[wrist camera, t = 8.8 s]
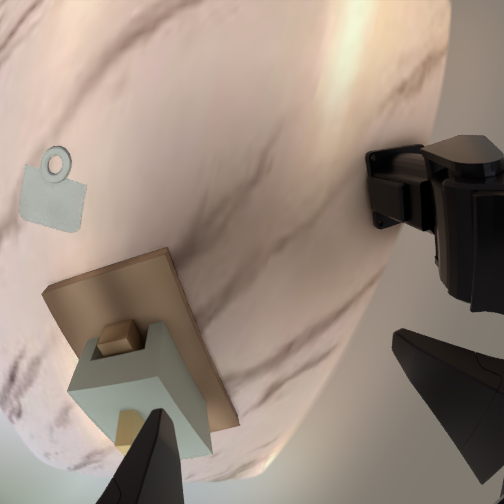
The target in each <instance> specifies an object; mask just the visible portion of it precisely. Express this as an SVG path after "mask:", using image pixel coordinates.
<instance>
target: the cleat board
mask: <svg viewBox="0 0 504 504" xmlns="http://www.w3.org/2000/svg"><path fill="white" fill-rule="evenodd" d="M42 296H43V298H44V300H45V302H46V304H47V306H48V308H49V310H50V312H51V314H52V315H53V317H54V319H55V321H56V323H57V324H58V326H59V328H60V329H61V331H62V333H63V335H64V336H65V338H66V340H67V341H68V343H69V344H70V346H71V348H72V349H73V351H74V352H75V354H76V355H77V357H78V358H79V359H80V357H81V354H82V352H83V349H84V347H85V345H86V342H87V340H89V339H93V338H98V337H99V341H98V343H97V346H98V348H99V350H100V351H101V353H102V354H103V356H104V358H107V357H112V356H117V355H121V354H126V353H130V352H134V351H139V350H143V349H145V344H146V339H147V333H148V328H149V324H153V323H157V322H161V321H164V323H165V325H166V327H167V329H168V331H169V333H170V335H171V337H172V339H173V341H174V344H175V346H176V348H177V350H178V352H179V353H180V355H181V357H182V359H183V361H184V363H185V365H186V367H187V369H188V371H189V373H190V375H191V376H192V378H193V380H194V382H195V384H196V385H197V387H198V389H199V391H200V393H201V394H202V396H203V398H204V400H205V401H206V405H207V413H208V422H209V429H210V432H215V431H220V430H224V429H228V428H232V427H236V426H240V424H239V419H238V415H237V413H236V411H235V409H234V407H233V405H232V403H231V401H230V399H229V397H228V395H227V393H226V391H225V388H224V386H223V384H222V382H221V380H220V378H219V375H218V373H217V371H216V369H215V367H214V364H213V362H212V360H211V358H210V355H209V353H208V351H207V349H206V346H205V344H204V342H203V339H202V337H201V335H200V332H199V330H198V327H197V325H196V322H195V320H194V318H193V315H192V313H191V310H190V308H189V305H188V303H187V300H186V297H185V295H184V292H183V290H182V287H181V284H180V282H179V279H178V276H177V274H176V271H175V268H174V265H173V263H172V260H171V257H170V254H169V251H168V249H167V248H163V249H160V250H157V251H154V252H150V253H147V254H144V255H141V256H138V257H134V258H131V259H128V260H125V261H122V262H119V263H116V264H112V265H109V266H106V267H103V268H100V269H97V270H94V271H91V272H88V273H85V274H82V275H79V276H76V277H73V278H70V279H67V280H64V281H61V282H58V283H55V284H52V285H49V286H48V287H47V288H46V289H45V291H44V292H43V293H42Z"/></svg>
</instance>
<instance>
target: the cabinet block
mask: <svg viewBox="0 0 504 504" xmlns="http://www.w3.org/2000/svg"><path fill="white" fill-rule="evenodd" d="M98 341H99V337H98V338H93V339H89V340H87V342H86V345H85V347H84V349H83V352H82V354H81V357H80V359H79V361H78V364H77V366H76V369H75V371H74V374H73V377H72V379H71V382H70V384H69V387H68V390H67V392H68V393H69V395H70V396H71V397H72V398H73V400H74V401H75V402H76V403H77V404H78V406H79V407H80V408H81V409H82V410H83V411H84V412H85V414H86V415H87V416H88V417H89V418H90V419H91V420H92V421H93V422H94V423H95V424H96V426H97V427H98V428H99V429H100V430H101V431H102V432H103V433H104V434H105V435H106V436H107V437H108V438H109V439H110V440H111V441H112V442H113V443H114V444H115V447H116V448H117V449H118V450H119V451H120V452H121V453H122V454H123V455H124V456H125V455H126V453H127V452H128V450H129V448H130V447H131V445H132V443H133V441H134V440H135V438H136V436H137V435H138V433H139V431H140V429H141V428H142V426H143V424H144V423H145V421H146V419H147V418H148V416H149V414H150V412H151V411H152V410H153V409H157V408H163V409H164V410H165V411H166V412H167V414H168V415H169V416H170V418H171V419H172V421H173V423H174V428H175V434H176V439H177V445H178V450H179V455H180V460H182V459H189V458H195V457H201V456H206V455H212V454H213V452H212V444H211V437H210V429H209V422H208V413H207V405H206V401H205V400H204V398H203V396H202V394H201V393H200V391H199V389H198V387H197V385H196V384H195V382H194V380H193V378H192V376H191V375H190V373H189V371H188V369H187V367H186V365H185V363H184V361H183V359H182V357H181V355H180V353H179V352H178V350H177V348H176V346H175V344H174V341H173V339H172V337H171V335H170V333H169V331H168V329H167V327H166V325H165V323H164V321H161V322H157V323H153V324H149V328H148V333H147V339H146V344H145V349H143V350H139V351H134V352H130V353H126V354H121V355H117V356H112V357H107V358H104V356H103V354H102V353H101V351H100V350H99V348H98V346H97V343H98Z"/></svg>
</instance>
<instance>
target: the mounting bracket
mask: <svg viewBox="0 0 504 504" xmlns="http://www.w3.org/2000/svg"><path fill="white" fill-rule="evenodd" d="M54 155H58V156H60V157H61V159H62V162H63V166H62V169H61V171H60V172H59V173H57V174H53V173H51V172H50V170H49V168H48V163H49V160H50V158H51V157H52V156H54ZM71 163H72V160H71V157H70V153H69V152H68V151H67V150H66V148H64V147H62V146H53V147H51V148H50V149H48V150H47V151H46V153H45V154H44V155H43V157H42V160H41V169H38V168H36V167H33V166H30V165H27V164H26V165H25V171H24V177H23V183H22V191H21V199H20V208H19V213H20V215H21V217H22V218H23V219H24V220H26V221H29V222H32V223H36V224H39V225H43V226H46V227H50V228H54V229H57V230H61V231H64V232H68V233H73V232H76V231H77V230H78V229H79V228H80V224H81V217H82V210H83V205H84V199H85V193H86V188H87V185H85V184H82V183H79V182H76V181H73V180H70V179H68V178H66V177H67V176H68V175H69V173H70V170H71Z"/></svg>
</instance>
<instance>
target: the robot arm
mask: <svg viewBox="0 0 504 504" xmlns="http://www.w3.org/2000/svg"><path fill="white" fill-rule="evenodd" d="M420 149H421V151H420ZM372 155H373V157H374V159H373V160H372V159H371V156H372ZM366 161H367V168H368V175H369V180H368V183H369V191H370V200H371V208H372V210H373V221H374V226H375V227H376V228H378V229H384V228H387V227H390V226H393V225H396V224H399V223H406V224H408V225H410V226H412V227H415V228H417V229H419V230H421V231H427V232H429V233H431V234H433V235H435V245H436V256H435V264H436V265H437V266H438V268H439V275H440V279H441V281H442V282H443V284H444V285H445V286H446V288H448V293H449V294H450V295H451V296H453V297H455V298H456V299H458V300H461V301H463V302H466V303H470V304H471V306H470V311H471V312H482V311H487V312H495V313H500V314H503V315H504V154H503V153H502V152H501V151H500V150H499V149H498V148H497V147H496V146H495V145H494V144H493V143H492V142H491V141H490V140H489V139H488V138H487V137H485V136H483V135H459V136H455V137H453V138H450V139H447V140H444V141H441V142H438V143H435V144H432V145H429V146H426V147H424V146H423V145H421V144H416V145H409V146H402V147H395V148H388V149H382V150H376V151H370V152H368V153H367V155H366ZM380 221H381V223H380V225H379V222H380ZM392 351H393V353H394V355H395V356H396V358H397V360H398V362H399V363H400V365H401V367H402V368H403V370H404V372H405V374H406V375H407V377H408V379H409V380H410V382H411V383H412V385H413V386H414V387H415V389H416V390H417V391H418V393H419V394H420V396H421V397H422V398H423V400H424V401H425V402H426V404H427V405H428V406H429V408H430V409H431V411H432V412H433V414H434V415H435V416H436V418H437V419H438V421H439V422H440V423H441V425H442V426H443V427H444V429H445V431H446V432H447V433H448V435H449V436H450V438H451V439H452V441H453V442H454V444H455V445H456V447H457V448H458V450H459V451H460V453H461V454H462V456H463V457H464V459H465V460H466V462H467V463H468V465H469V466H470V468H471V469H472V471H473V472H474V474H475V476H476V477H477V479H478V480H479V482H480V483H481V484H482V485H483V484H484V483H485V482H486V481H487V480H489V479H490V478H491V477H492V476H493V475H494V474H495V473H496V472H497V471H498V470H499V469H501V468H502V467H503V466H504V359H499V358H495V357H491V356H487V355H484V354H481V353H478V352H476V353H475V352H474V351H471V350H468V349H465V348H462V347H459V346H455V345H452V344H449V343H446V342H443V341H440V340H437V339H434V338H431V337H428V336H425V335H422V334H419V333H416V332H413V331H410V330H407V329H404V328H401V329H399V330H397V331H395V332H394V333H393V340H392ZM96 504H184V496H183V487H182V475H181V463H180V455H179V450H178V445H177V439H176V434H175V428H174V423H173V421H172V419H171V418H170V416H169V415H168V414H167V412H166V411H165V410H164V409H163V408H157V409H153V410H152V411H151V412H150V414H149V416H148V418H147V419H146V421H145V423H144V424H143V426H142V428H141V429H140V431H139V433H138V435H137V436H136V438H135V440H134V441H133V443H132V445H131V447H130V448H129V450H128V452H127V453H126V455H125V457H124V459H123V460H122V462H121V464H120V465H119V467H118V469H117V471H116V472H115V474H114V476H113V478H112V479H111V481H110V483H109V484H108V486H107V487H106V489H105V491H104V492H103V494H102V495H101V497H100V498H99V500H98V501H97V502H96ZM494 504H504V480H503V485H502V490H501V495H500V498H499V499H498V500H497V501H496V502H495V503H494Z"/></svg>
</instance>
